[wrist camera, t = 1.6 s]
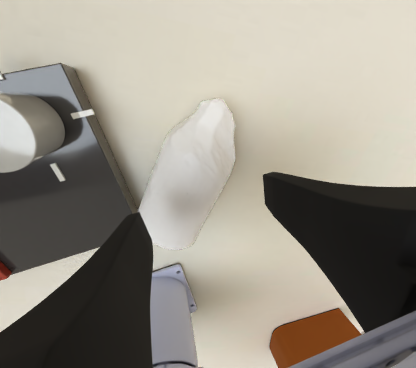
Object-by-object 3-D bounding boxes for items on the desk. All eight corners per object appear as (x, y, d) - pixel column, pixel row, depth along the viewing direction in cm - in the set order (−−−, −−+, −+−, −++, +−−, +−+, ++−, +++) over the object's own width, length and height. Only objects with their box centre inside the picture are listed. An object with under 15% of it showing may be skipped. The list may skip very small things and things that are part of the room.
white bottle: (241, 115, 18) (274, 122, 13) (191, 219, 21) (201, 258, 16) (181, 83, 15) (192, 76, 10) (136, 206, 19) (128, 245, 14)
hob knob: (76, 147, 14) (50, 163, 10) (17, 162, 13) (-33, 184, 10) (44, 85, 12) (-2, 81, 8) (-27, 100, 11) (-106, 101, 8)
